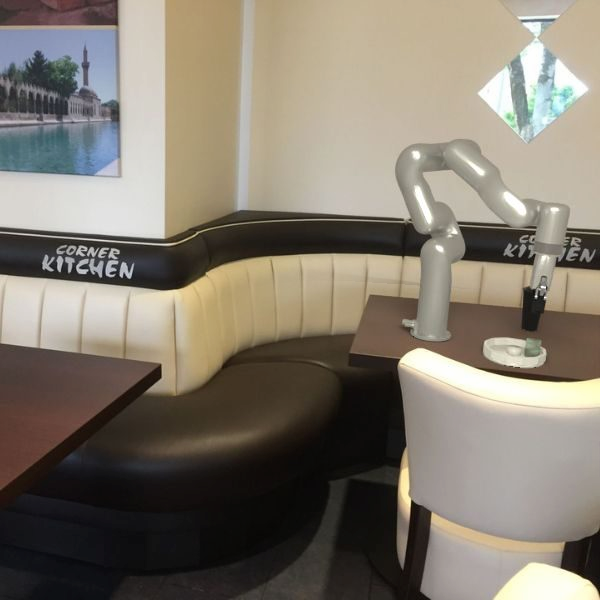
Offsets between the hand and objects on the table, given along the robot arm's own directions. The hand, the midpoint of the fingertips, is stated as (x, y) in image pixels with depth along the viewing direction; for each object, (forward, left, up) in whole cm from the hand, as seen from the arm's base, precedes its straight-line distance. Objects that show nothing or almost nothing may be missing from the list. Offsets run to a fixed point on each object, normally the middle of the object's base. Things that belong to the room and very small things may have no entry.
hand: (536, 308), depth 169 cm
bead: (+1, 0, -14) cm, 14 cm away
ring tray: (-4, 0, -15) cm, 16 cm away
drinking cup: (+1, +31, -16) cm, 35 cm away
